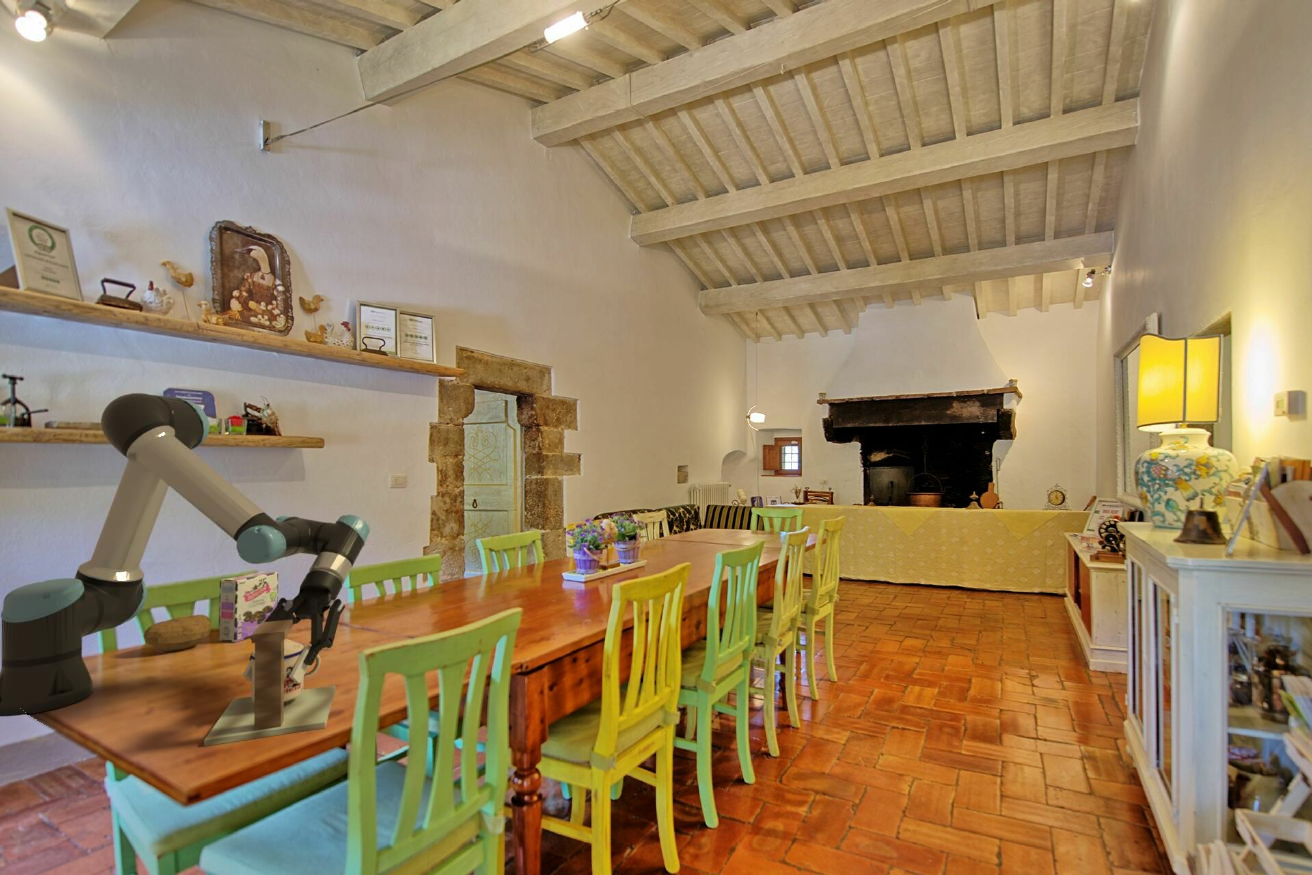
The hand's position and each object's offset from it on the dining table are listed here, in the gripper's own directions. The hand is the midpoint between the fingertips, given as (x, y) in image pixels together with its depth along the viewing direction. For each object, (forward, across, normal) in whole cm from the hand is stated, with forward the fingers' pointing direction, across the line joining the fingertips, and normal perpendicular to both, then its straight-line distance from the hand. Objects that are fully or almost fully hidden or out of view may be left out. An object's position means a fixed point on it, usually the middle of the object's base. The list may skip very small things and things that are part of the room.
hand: (271, 679), depth 121 cm
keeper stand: (+5, -2, -3) cm, 7 cm away
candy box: (-30, +46, -39) cm, 67 cm away
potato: (-20, +54, -29) cm, 64 cm away
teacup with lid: (+1, -1, -5) cm, 5 cm away
